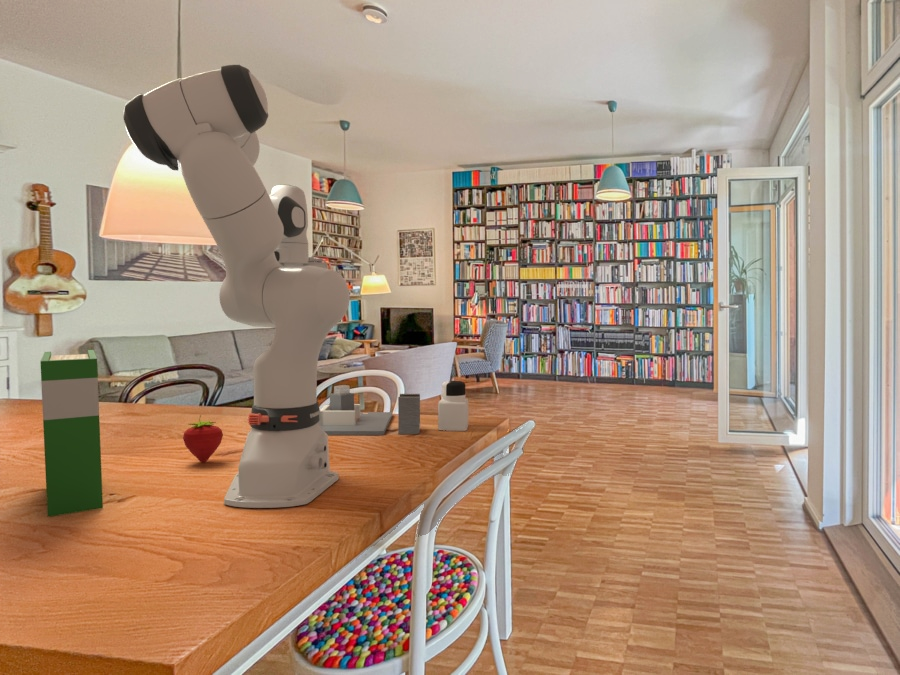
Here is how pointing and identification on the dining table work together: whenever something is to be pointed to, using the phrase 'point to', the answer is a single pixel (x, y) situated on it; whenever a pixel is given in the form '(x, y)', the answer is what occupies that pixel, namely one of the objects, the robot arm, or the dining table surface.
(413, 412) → the dark grey upright block
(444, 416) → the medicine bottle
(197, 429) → the strawberry
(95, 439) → the hardback book
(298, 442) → the robot arm
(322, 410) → the end holder
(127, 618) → the dining table surface
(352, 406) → the connector plug
